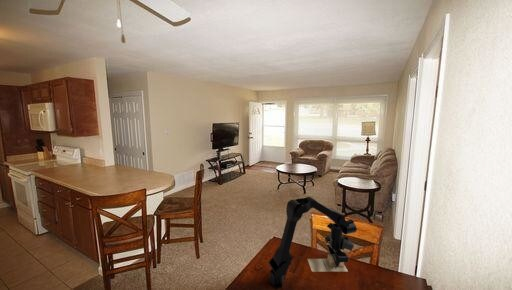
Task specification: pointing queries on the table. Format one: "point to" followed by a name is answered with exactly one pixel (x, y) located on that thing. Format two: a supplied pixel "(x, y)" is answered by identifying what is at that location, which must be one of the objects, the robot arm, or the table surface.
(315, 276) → the table surface
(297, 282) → the table surface
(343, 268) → the board
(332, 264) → the sanding block
